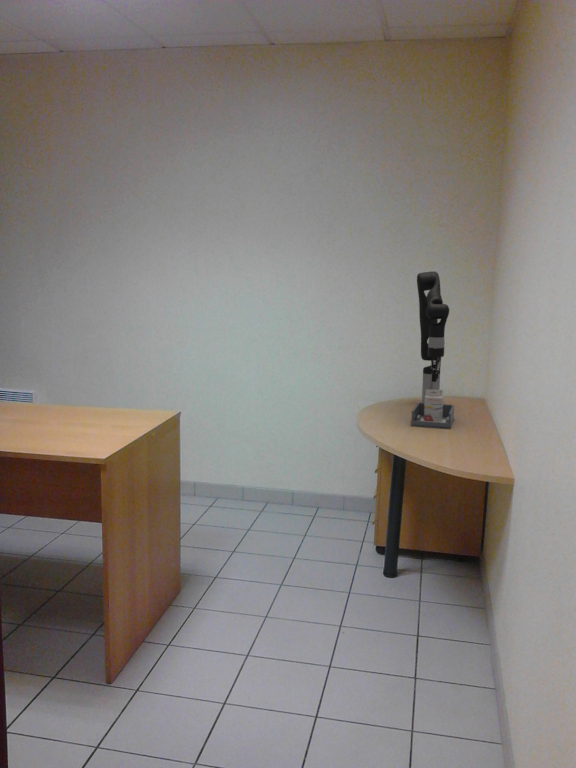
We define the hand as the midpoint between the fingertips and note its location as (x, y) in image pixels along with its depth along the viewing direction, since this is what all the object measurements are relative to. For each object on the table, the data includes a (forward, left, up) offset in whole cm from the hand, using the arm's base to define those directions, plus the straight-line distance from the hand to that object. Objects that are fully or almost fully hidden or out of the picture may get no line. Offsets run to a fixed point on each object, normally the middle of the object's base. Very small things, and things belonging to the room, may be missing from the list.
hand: (434, 380), depth 310 cm
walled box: (0, 0, -21) cm, 21 cm away
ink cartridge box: (0, 0, -20) cm, 20 cm away
